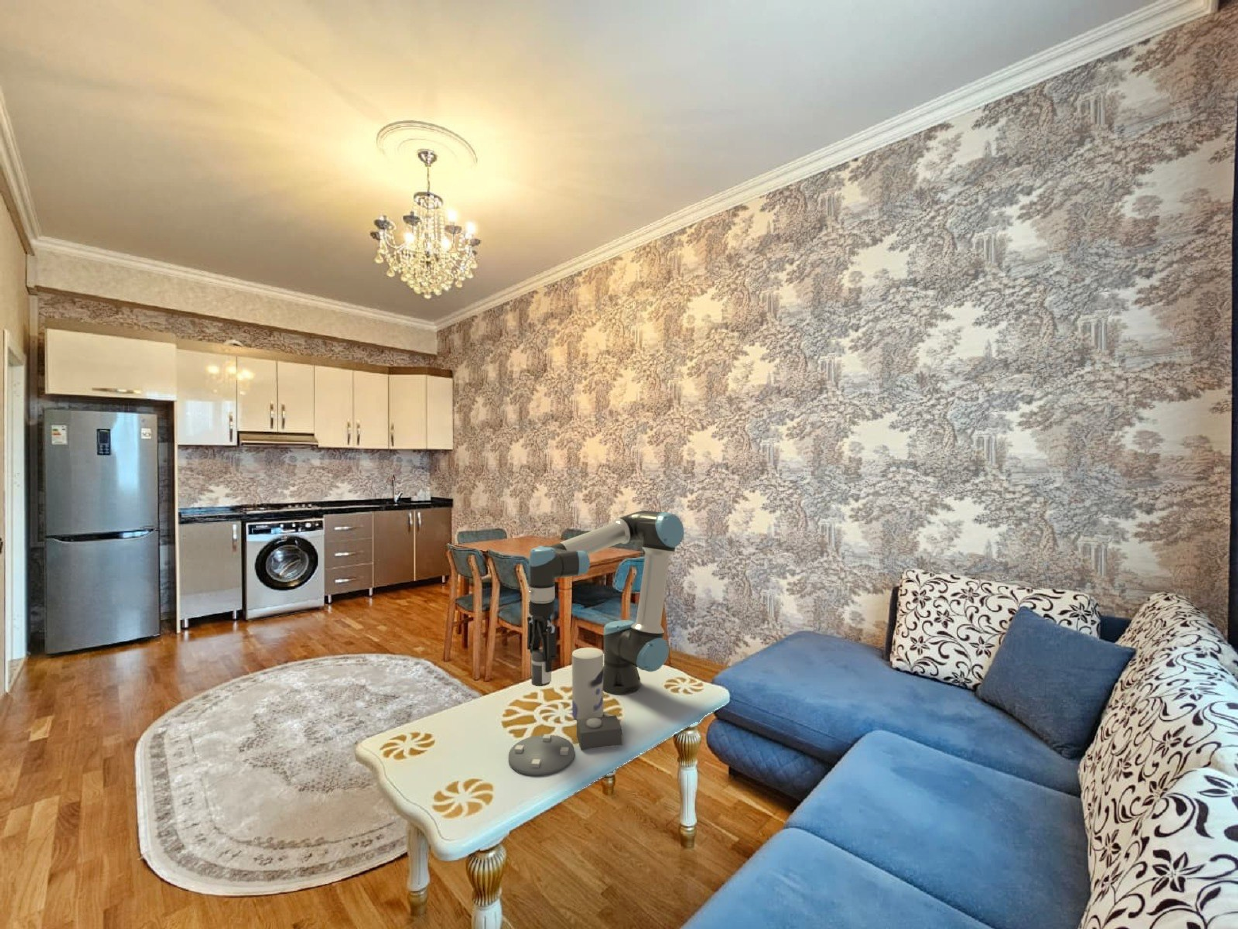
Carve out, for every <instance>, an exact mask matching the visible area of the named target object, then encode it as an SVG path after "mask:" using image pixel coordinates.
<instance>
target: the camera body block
mask: <svg viewBox="0 0 1238 929" xmlns="http://www.w3.org/2000/svg"><path fill="white" fill-rule="evenodd" d="M576 738H577V742H578V745H579V748H580V751H584V750H585V751H586V750H595V749H600V748H607V747H616V746H623V727H622V725H621V723H620V721H619V719H618V717H617V715H616V714H613V715H607V716H602V717H596V718H588V719H579V720H577V719H576Z"/></svg>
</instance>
